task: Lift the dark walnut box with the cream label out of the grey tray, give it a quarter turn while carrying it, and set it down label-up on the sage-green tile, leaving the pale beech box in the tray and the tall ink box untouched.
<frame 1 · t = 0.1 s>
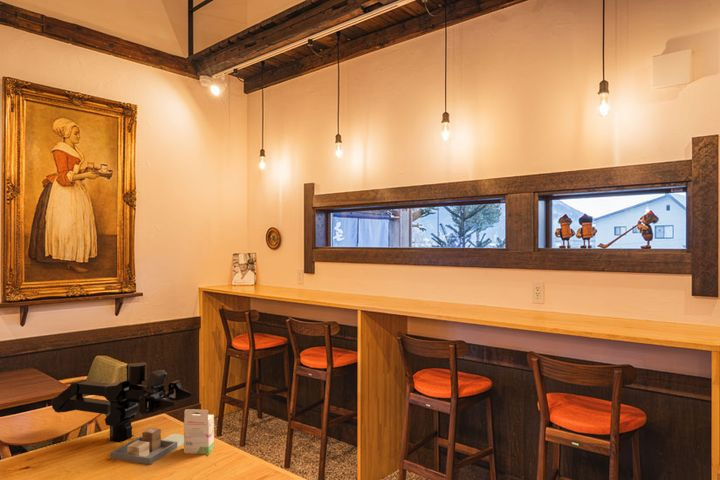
hand: (183, 399, 162), 17 cm above the table, tool horizontal, fingers open, 9 cm apart
walnut box: (151, 448, 161), point 1 cm above the table, touching grey tray
sage tile: (175, 441, 168), on the table
ink box: (199, 452, 160), on the table
grey tray: (144, 454, 158), on the table
beech box: (138, 456, 155), point 1 cm above the table, touching grey tray
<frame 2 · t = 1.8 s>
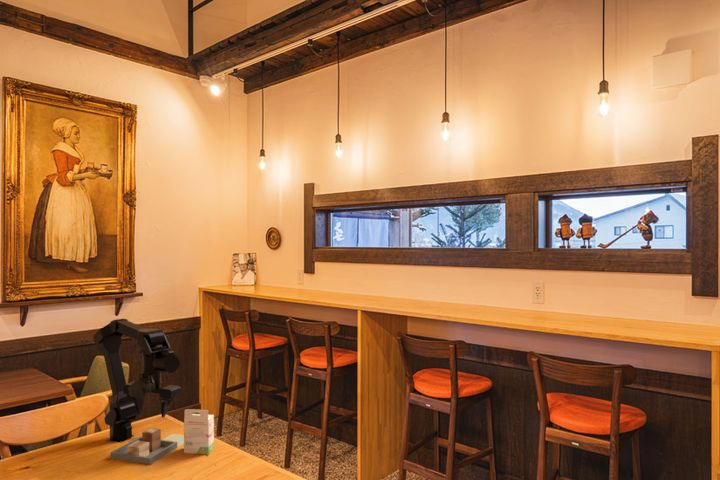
hand: (151, 415, 161), 12 cm above the table, tool pointing down, fingers open, 9 cm apart
nothing on the table moved.
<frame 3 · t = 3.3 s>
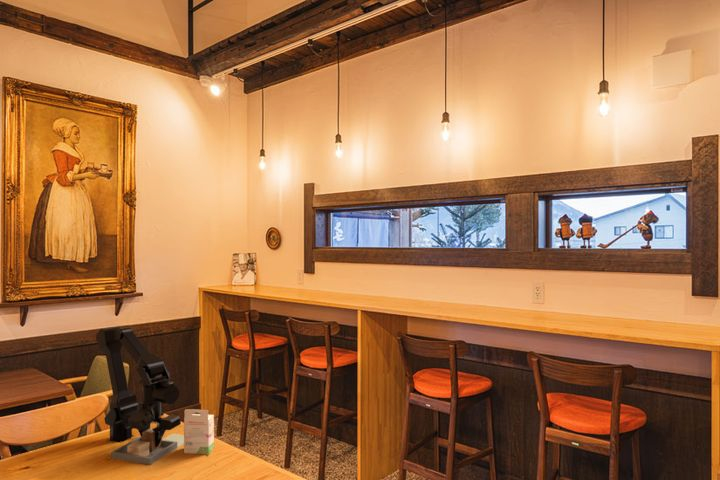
hand: (151, 445, 161), 2 cm above the table, tool pointing down, fingers closed on walnut box, 4 cm apart
walnut box: (151, 448, 161), point 1 cm above the table, touching gripper, grey tray
everything else where it was.
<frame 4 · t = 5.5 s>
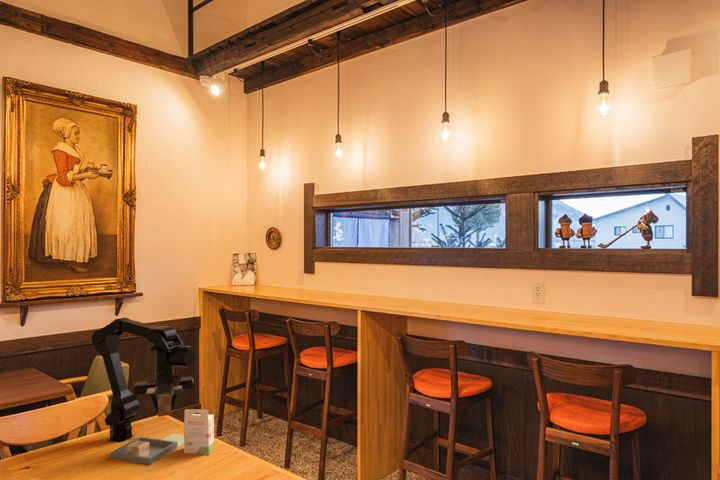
hand: (164, 410, 164), 12 cm above the table, tool pointing down, fingers closed on walnut box, 4 cm apart
walnut box: (164, 413, 164), point 11 cm above the table, touching gripper
everything else where it was.
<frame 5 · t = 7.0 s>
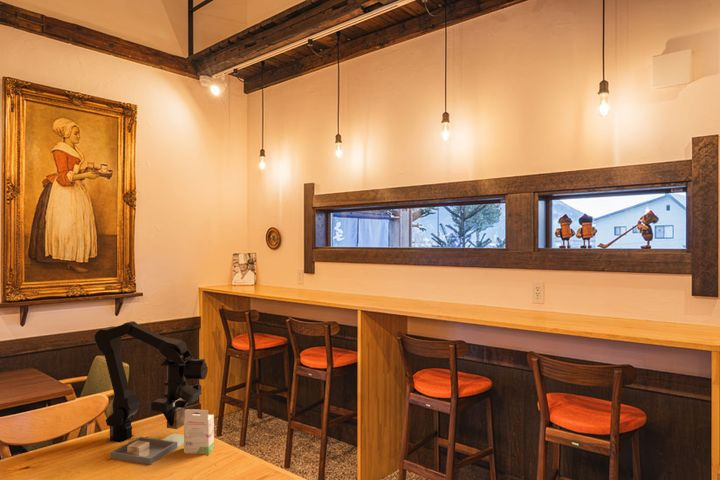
hand: (175, 423, 168), 6 cm above the table, tool pointing down, fingers closed on walnut box, 4 cm apart
walnut box: (175, 426, 168), point 5 cm above the table, touching gripper
everything else where it was.
when the fingers open (3 cm above the table, at t = 7.9 s): walnut box drops 2 cm, resting on sage tile.
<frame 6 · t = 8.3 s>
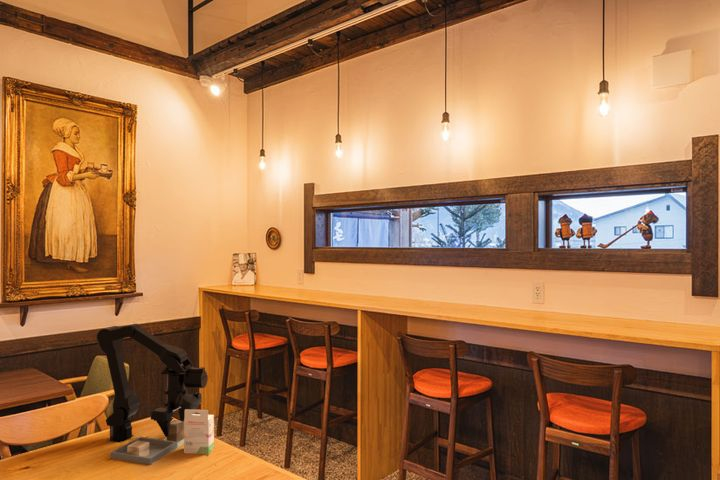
hand: (175, 431, 168), 3 cm above the table, tool pointing down, fingers open, 9 cm apart
walnut box: (175, 440, 168), point 1 cm above the table, touching sage tile
everything else where it was.
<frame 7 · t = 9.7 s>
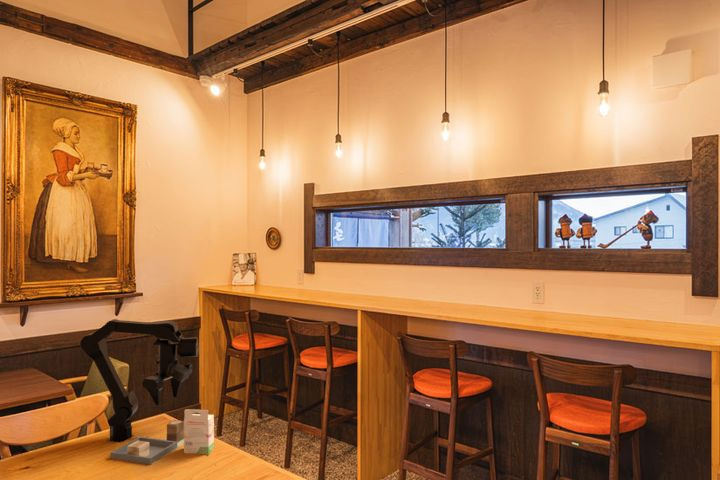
hand: (166, 401, 172), 13 cm above the table, tool pointing down, fingers open, 9 cm apart
nothing on the table moved.
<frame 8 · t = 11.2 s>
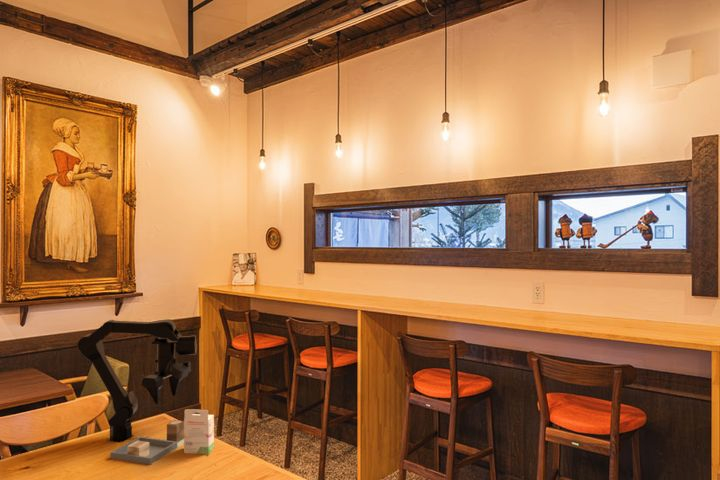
hand: (165, 399, 173), 13 cm above the table, tool pointing down, fingers open, 9 cm apart
nothing on the table moved.
at the end: walnut box inside the target area on the sage tile (0.0 cm from its centre), point 0.6 cm above the sage tile's base; walnut box tilted 0°; beech box moved 0.0 cm from its start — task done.
